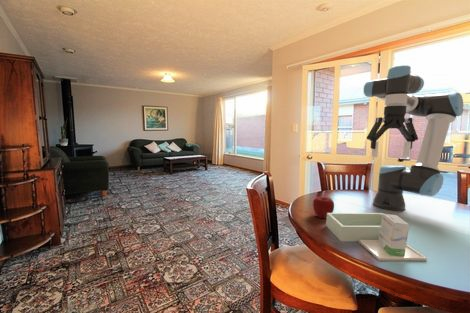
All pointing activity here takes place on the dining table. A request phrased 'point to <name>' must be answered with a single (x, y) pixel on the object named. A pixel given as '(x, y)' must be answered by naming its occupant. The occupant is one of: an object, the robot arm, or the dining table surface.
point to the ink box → (393, 234)
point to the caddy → (355, 225)
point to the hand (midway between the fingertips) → (390, 156)
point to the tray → (384, 256)
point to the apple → (323, 206)
